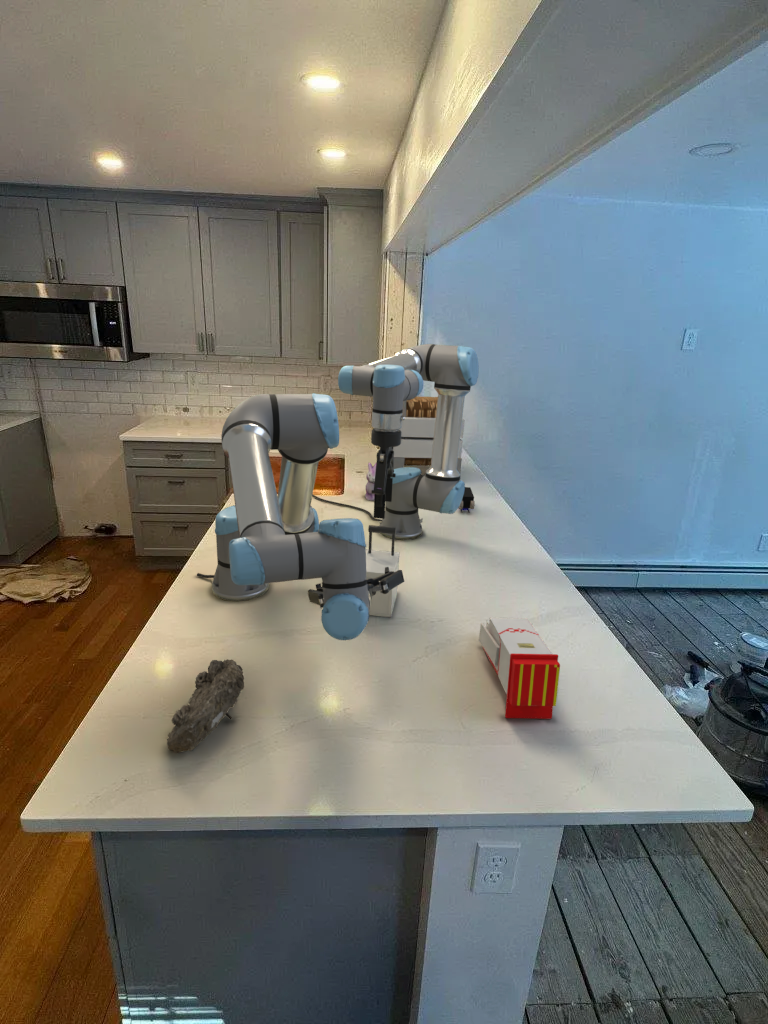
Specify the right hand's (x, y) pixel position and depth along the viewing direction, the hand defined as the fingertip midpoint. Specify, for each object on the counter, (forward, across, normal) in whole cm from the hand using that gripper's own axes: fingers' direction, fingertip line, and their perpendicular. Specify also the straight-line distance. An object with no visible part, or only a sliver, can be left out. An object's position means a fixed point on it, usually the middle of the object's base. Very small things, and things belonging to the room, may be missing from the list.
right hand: (383, 509), depth 149 cm
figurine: (+25, +83, +15) cm, 88 cm away
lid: (+14, -5, 0) cm, 15 cm away
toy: (+25, -31, -34) cm, 52 cm away
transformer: (+25, +126, -1) cm, 129 cm away
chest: (+25, -5, 0) cm, 26 cm away
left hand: (+7, -27, +1) cm, 28 cm away
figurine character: (+25, +79, -22) cm, 86 cm away
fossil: (+25, -56, +24) cm, 65 cm away
